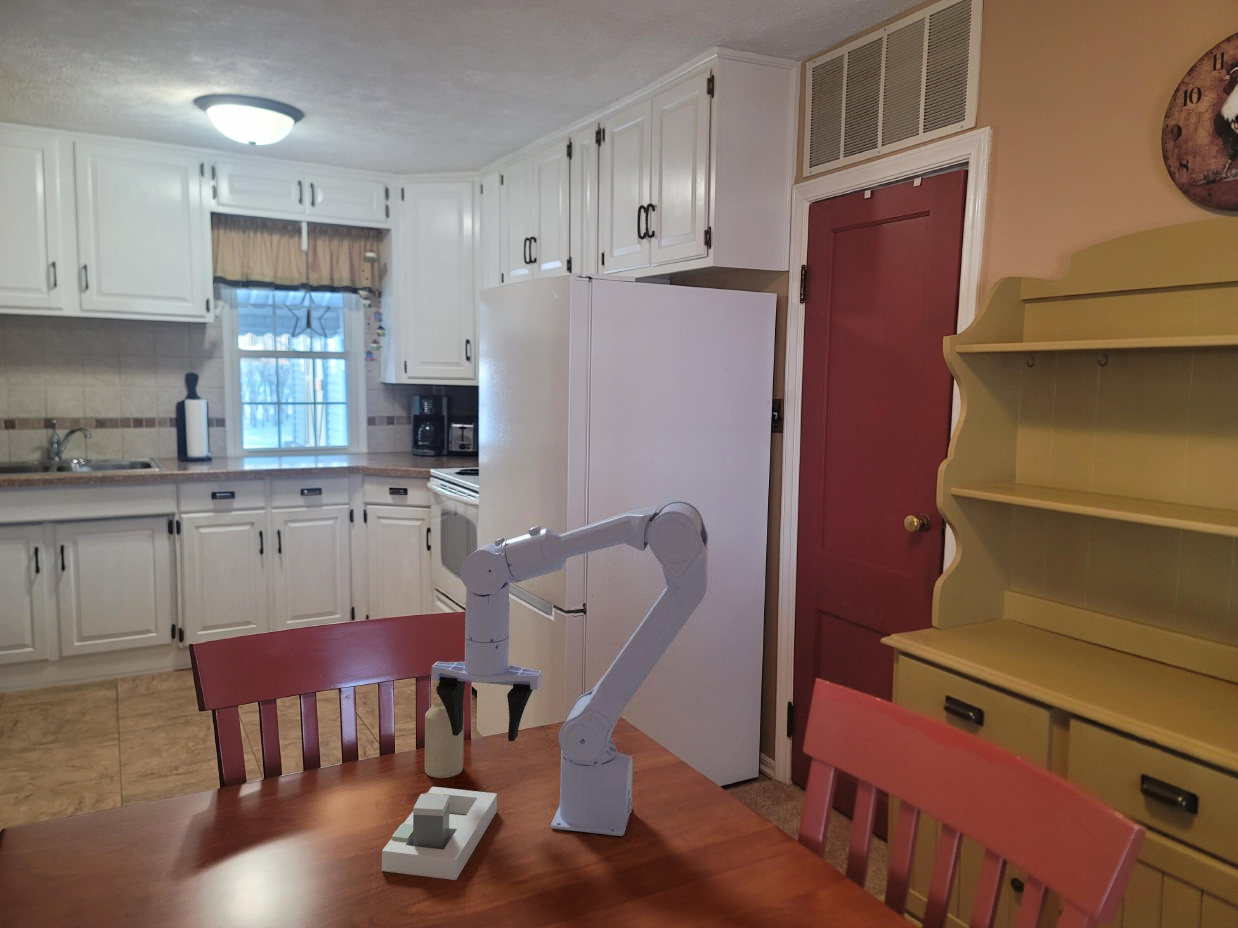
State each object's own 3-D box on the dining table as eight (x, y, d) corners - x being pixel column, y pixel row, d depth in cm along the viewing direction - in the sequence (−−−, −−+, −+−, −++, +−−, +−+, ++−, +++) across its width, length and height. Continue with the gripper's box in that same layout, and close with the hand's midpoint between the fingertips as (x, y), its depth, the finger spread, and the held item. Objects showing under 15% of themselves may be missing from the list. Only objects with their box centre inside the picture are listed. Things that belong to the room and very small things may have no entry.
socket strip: (496, 811, 115) (497, 790, 115) (456, 879, 100) (456, 856, 99) (432, 804, 117) (432, 783, 116) (381, 870, 101) (382, 847, 101)
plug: (448, 849, 106) (449, 794, 105) (442, 865, 102) (442, 809, 102) (420, 848, 106) (420, 793, 105) (412, 864, 103) (413, 807, 102)
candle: (454, 780, 124) (455, 712, 123) (418, 775, 125) (418, 708, 124) (468, 763, 129) (469, 698, 128) (434, 759, 130) (434, 695, 129)
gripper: (548, 631, 117) (545, 728, 118) (445, 623, 119) (443, 718, 121) (535, 647, 110) (532, 750, 112) (425, 638, 112) (424, 739, 114)
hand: (485, 735), depth 116 cm, fingers open, 7 cm apart
